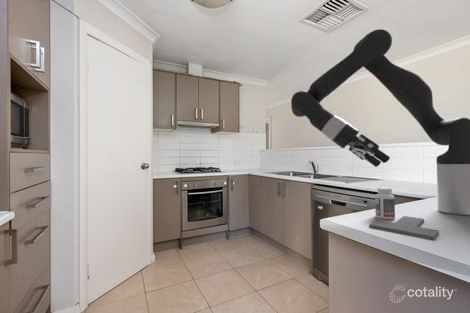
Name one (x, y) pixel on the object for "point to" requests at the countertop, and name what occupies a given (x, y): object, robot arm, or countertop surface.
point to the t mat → (406, 227)
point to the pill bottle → (385, 204)
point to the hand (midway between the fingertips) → (383, 162)
